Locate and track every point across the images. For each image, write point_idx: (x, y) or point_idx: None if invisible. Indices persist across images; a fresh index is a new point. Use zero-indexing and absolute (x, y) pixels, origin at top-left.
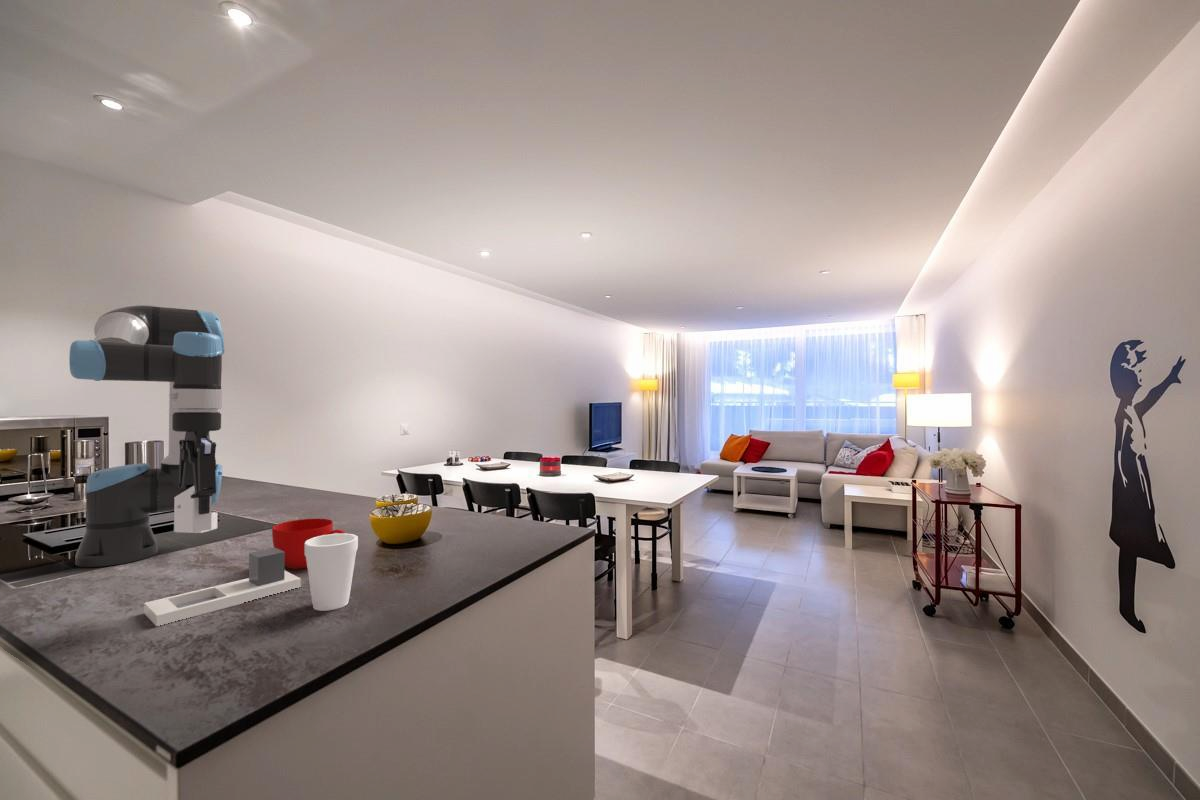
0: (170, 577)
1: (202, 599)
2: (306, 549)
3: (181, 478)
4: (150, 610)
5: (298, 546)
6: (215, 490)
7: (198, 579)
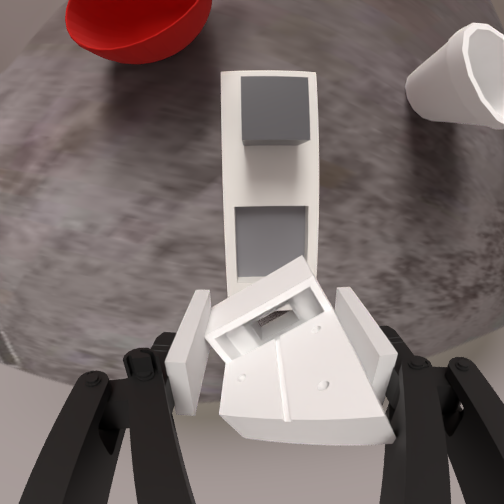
0: (59, 235)
1: (238, 225)
2: (497, 125)
3: (115, 454)
4: None
5: (201, 23)
6: (473, 365)
7: (99, 201)
